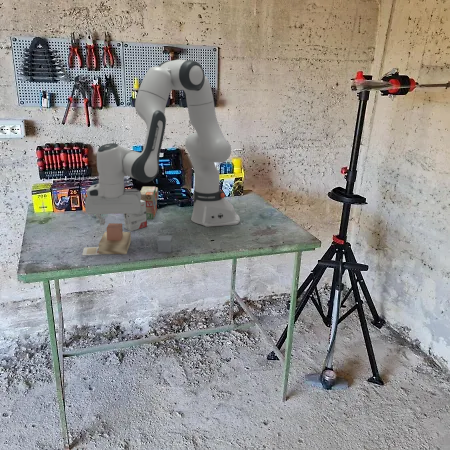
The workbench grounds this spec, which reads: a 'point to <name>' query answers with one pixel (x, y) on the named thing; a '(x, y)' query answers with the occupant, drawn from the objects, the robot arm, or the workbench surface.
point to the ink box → (137, 219)
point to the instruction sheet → (91, 251)
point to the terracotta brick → (114, 231)
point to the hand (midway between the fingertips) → (115, 223)
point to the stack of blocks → (150, 200)
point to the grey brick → (164, 243)
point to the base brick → (115, 244)
